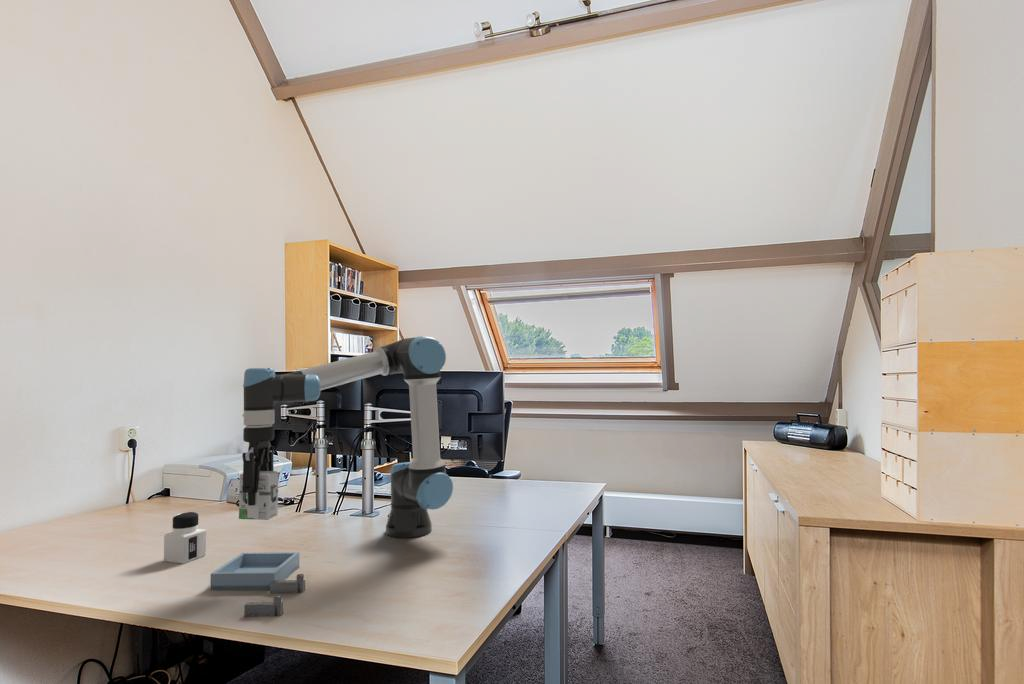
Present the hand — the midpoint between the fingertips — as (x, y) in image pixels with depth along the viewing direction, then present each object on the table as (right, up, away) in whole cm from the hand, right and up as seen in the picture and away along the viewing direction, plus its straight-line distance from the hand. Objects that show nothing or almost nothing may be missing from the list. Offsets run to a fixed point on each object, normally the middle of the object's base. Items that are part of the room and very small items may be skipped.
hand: (258, 514), depth 148 cm
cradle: (+12, -16, -17) cm, 26 cm away
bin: (0, -17, -1) cm, 17 cm away
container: (-29, -18, +16) cm, 37 cm away
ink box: (0, -1, 0) cm, 1 cm away
